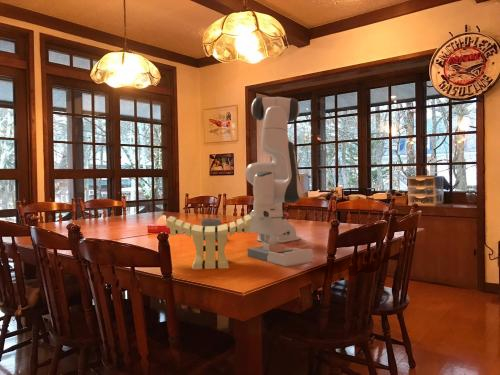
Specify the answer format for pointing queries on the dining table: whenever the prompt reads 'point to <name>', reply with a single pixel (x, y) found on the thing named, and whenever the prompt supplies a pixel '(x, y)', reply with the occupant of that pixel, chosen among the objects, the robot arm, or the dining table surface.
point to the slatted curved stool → (209, 240)
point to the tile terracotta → (276, 247)
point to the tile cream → (267, 245)
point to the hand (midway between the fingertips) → (264, 245)
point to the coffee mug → (211, 222)
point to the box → (290, 257)
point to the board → (262, 253)
